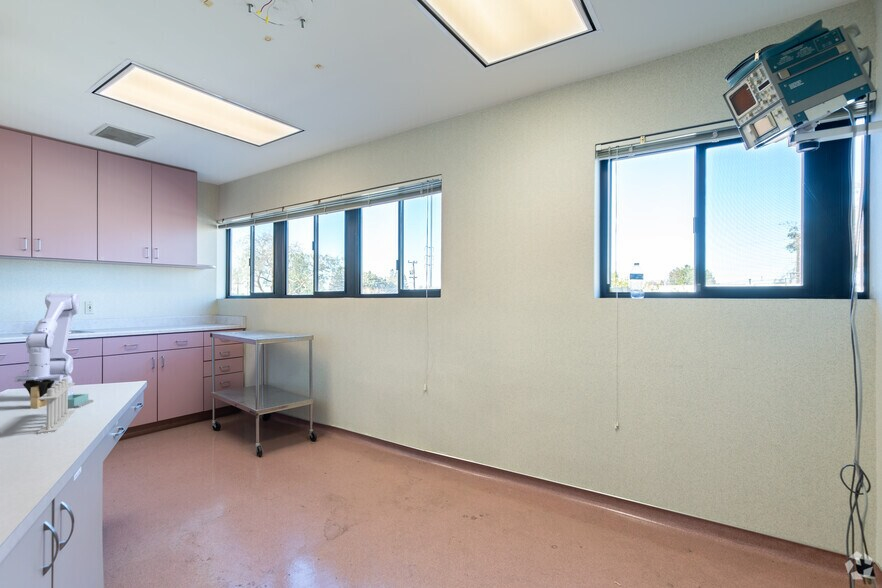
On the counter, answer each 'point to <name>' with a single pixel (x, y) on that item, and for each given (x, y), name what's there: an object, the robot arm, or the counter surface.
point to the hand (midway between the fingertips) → (38, 399)
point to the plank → (36, 398)
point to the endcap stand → (78, 400)
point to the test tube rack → (56, 406)
